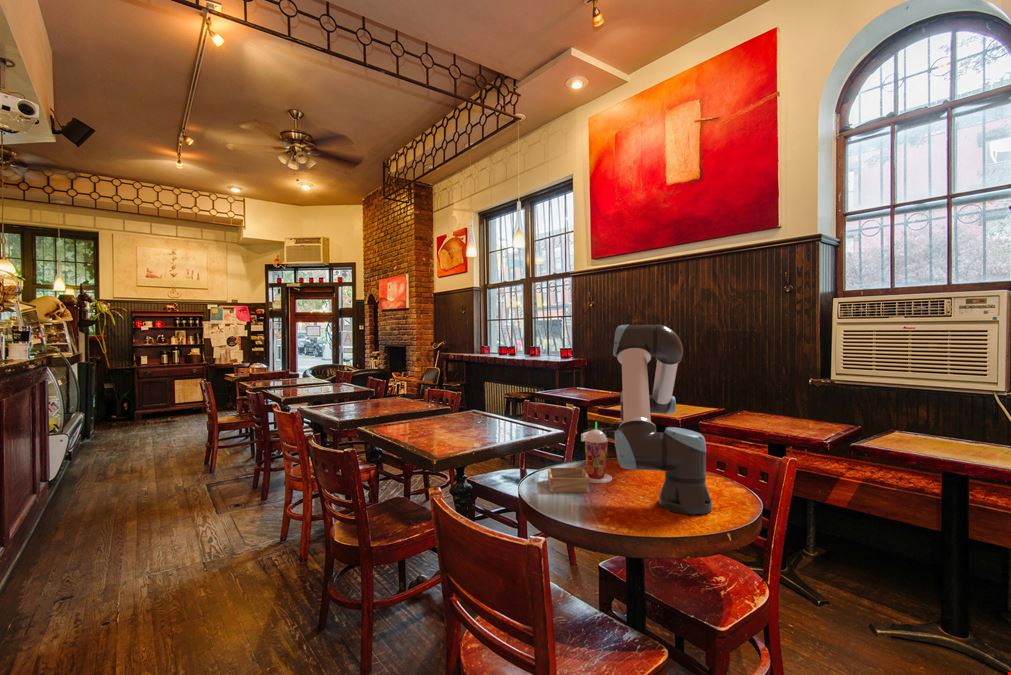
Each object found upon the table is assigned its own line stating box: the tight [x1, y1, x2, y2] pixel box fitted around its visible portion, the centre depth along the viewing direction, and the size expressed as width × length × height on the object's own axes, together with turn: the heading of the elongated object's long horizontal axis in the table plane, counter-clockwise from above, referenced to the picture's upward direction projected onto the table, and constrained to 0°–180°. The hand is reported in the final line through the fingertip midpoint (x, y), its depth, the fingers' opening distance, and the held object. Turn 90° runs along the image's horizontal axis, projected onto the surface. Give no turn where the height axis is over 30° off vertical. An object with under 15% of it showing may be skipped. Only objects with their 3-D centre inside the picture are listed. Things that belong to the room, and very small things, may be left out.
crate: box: [547, 466, 590, 493], centre depth 161 cm, size 13×13×4 cm
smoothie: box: [584, 421, 609, 479], centre depth 170 cm, size 8×8×20 cm
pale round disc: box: [586, 471, 613, 484], centre depth 170 cm, size 12×12×1 cm
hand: (598, 440), depth 172 cm, fingers open, 13 cm apart
